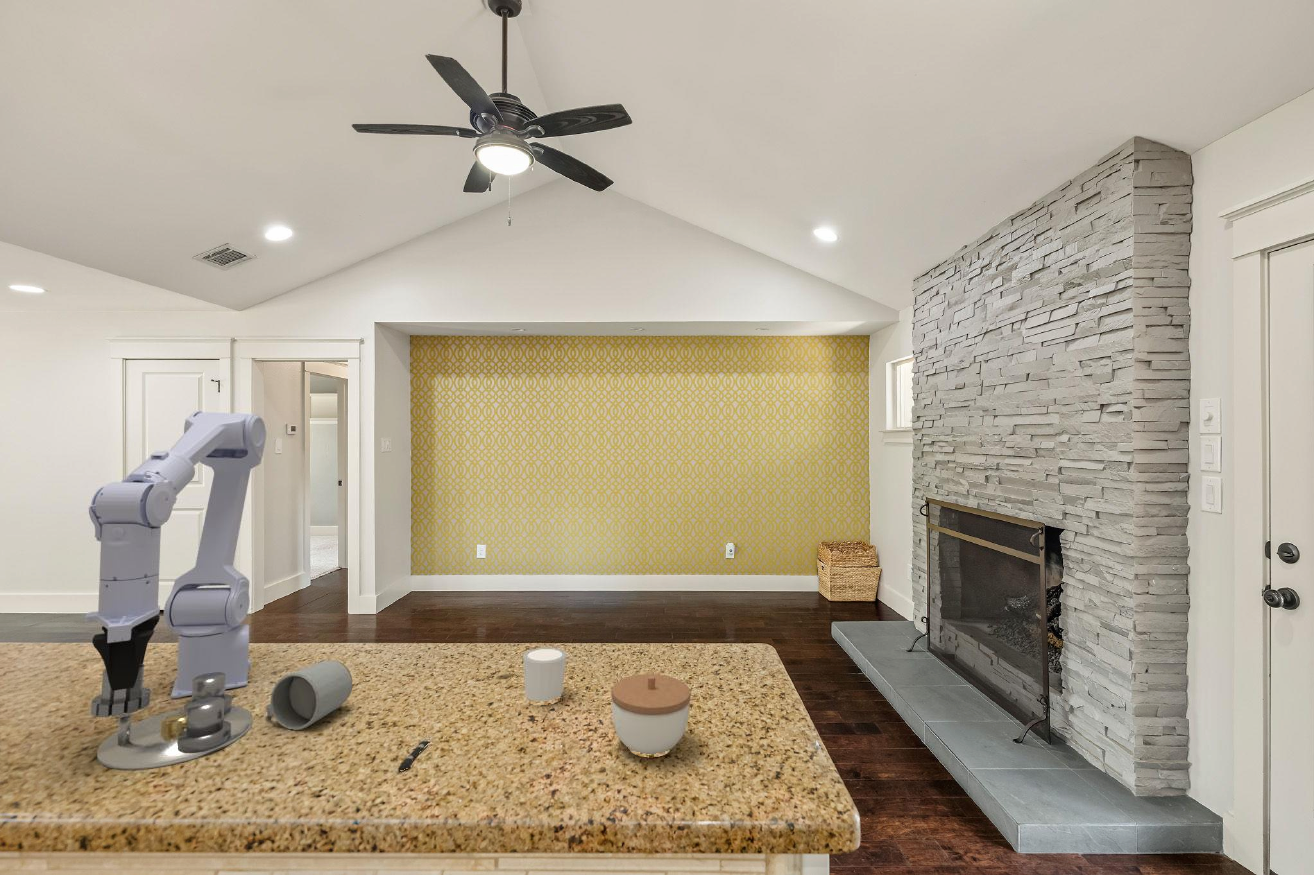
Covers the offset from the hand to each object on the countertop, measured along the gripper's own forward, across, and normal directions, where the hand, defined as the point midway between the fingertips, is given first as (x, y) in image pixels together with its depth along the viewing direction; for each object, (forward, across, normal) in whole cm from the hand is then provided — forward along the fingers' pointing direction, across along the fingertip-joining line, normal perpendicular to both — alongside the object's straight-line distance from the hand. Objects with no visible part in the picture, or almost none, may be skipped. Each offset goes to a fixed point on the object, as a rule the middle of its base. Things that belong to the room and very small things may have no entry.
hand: (126, 682), depth 75 cm
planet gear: (+3, 0, 0) cm, 3 cm away
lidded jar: (+9, +35, +58) cm, 68 cm away
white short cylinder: (+9, +14, +52) cm, 54 cm away
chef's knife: (+9, +17, +35) cm, 40 cm away
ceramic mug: (+9, +2, +20) cm, 22 cm away
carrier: (+8, 0, +6) cm, 10 cm away
